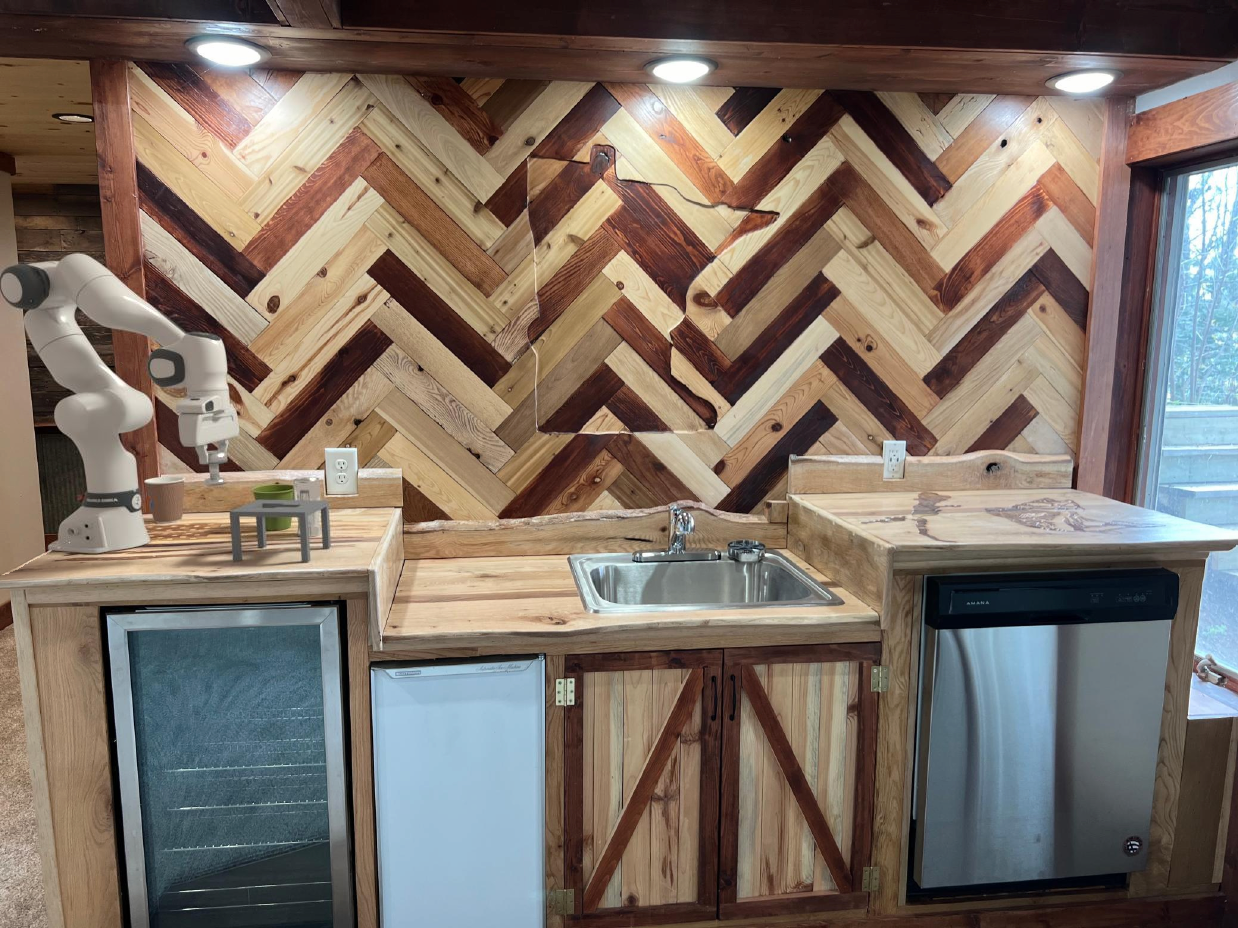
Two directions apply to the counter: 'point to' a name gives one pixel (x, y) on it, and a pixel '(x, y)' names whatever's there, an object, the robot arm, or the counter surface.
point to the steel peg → (215, 467)
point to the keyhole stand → (280, 509)
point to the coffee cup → (166, 498)
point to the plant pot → (275, 494)
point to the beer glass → (308, 491)
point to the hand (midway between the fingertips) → (213, 460)
